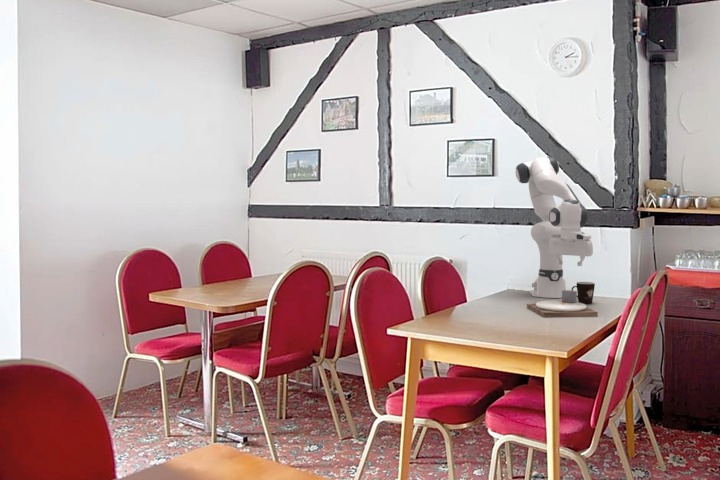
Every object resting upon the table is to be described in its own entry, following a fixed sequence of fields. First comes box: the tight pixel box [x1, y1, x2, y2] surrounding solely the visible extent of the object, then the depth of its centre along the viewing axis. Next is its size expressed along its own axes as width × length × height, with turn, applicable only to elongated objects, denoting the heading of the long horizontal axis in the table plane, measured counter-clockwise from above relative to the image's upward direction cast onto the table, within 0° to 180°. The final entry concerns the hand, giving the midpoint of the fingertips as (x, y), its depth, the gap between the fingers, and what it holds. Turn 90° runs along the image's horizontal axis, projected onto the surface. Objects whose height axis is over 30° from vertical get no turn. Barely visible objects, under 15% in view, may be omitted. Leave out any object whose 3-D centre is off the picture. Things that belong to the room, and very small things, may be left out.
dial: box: [535, 289, 588, 311], centre depth 320 cm, size 23×22×6 cm
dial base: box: [526, 302, 599, 318], centre depth 320 cm, size 24×24×2 cm
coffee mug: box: [571, 281, 596, 305], centre depth 344 cm, size 12×9×10 cm
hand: (569, 265), depth 325 cm, fingers open, 8 cm apart
